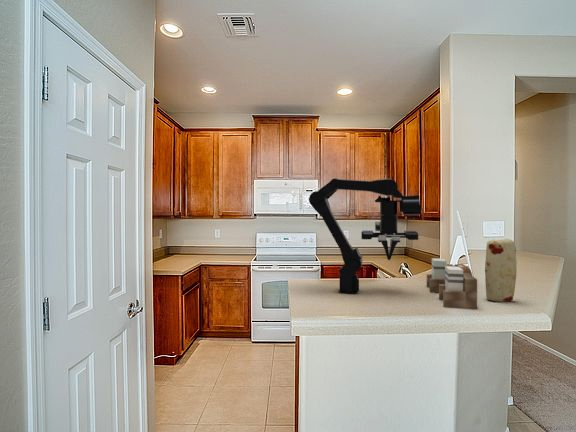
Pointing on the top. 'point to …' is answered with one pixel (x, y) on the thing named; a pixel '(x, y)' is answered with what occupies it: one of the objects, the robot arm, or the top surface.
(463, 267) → the tin
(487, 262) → the food model
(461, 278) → the white rectangular block
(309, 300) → the top surface
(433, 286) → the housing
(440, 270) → the pale green box
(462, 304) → the housing
